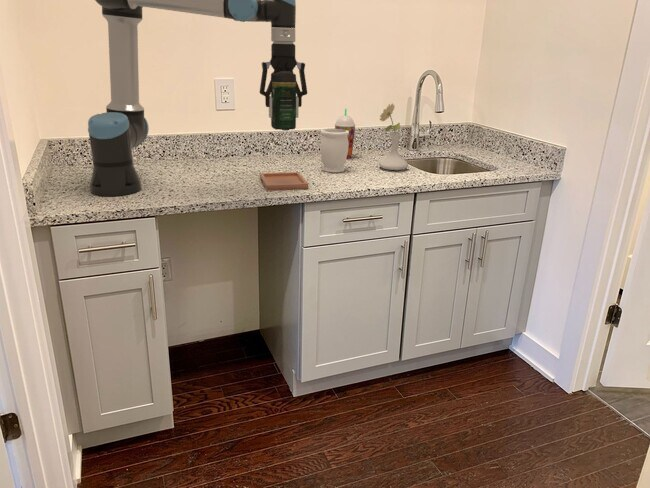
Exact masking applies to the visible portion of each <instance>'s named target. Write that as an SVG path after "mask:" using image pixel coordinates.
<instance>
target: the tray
mask: <svg viewBox="0 0 650 488" xmlns="http://www.w3.org/2000/svg"><path fill="white" fill-rule="evenodd" d="M259 177H260V181H261V183H262V185H263V186H264V188H265V191H267V192H268V191H272V192H273V191H293V189H294V191H295V189H297V190H309V183H308V181H307V180H306V179H305V178H304V176H303V175H302V174H301V173H300V172H299V171H292V172H266V173H264V172H262V173H259Z"/></svg>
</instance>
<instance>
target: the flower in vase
mask: <svg viewBox="0 0 650 488" xmlns="http://www.w3.org/2000/svg"><path fill="white" fill-rule="evenodd" d="M395 106H396V105H395V104H394V103H393V102H392V103H390V104H388V105H387V106H386V108H384V109H383V110H382V111H383V112H382V113H381V114H380V116H379V120H380V122H385V121H386V120H387V119H389V118H390V121H391V124H389V125H387V126H386V127H385V132H386V131H387V132H389V131H391V129H393V131H391V132H389V133H388V134H389V136H390V138H391V139H390V140H391V150H390V152H389V153H388V154H387V155H386V156H385V157H383V158H382V159H381V160H379V162H378V166H379V167H381V168H383V169H384V170H390V171H401V170H404V169H407V168H408V167H409V163H408V162H407V160H406V159H405V158H403V156H401V155H400V154H399V151H398V148H399V141H400V139H401V137H402V135H403V132H400V131H399V132H397V130H400V129H401V125H400V122H398V123H397V124H395V125H394V121H393V119H392V114H393V112H394V110H395V108H396V107H395Z"/></svg>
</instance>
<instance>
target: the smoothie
mask: <svg viewBox="0 0 650 488" xmlns="http://www.w3.org/2000/svg"><path fill="white" fill-rule="evenodd" d="M334 129H343V130H347V131H349V134H348V135H347V137H348V154H347V159H346V160H349V159H351V157H352V155H353V150H354V148H353V147H354V141H355V131H356V130H355V129H356V123H355V122H354V120H353V118H352V117H350V116H348V115H347V108H344V115H341V116H340V117H338V119H337V120H336V123H335V124H334Z"/></svg>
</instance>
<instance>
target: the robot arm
mask: <svg viewBox="0 0 650 488" xmlns="http://www.w3.org/2000/svg"><path fill="white" fill-rule="evenodd" d="M94 1H95V2H96V3H97V4H98V5H100V6H101V14H102V17H103V18H104V19H105V20H106V21H107V27H108V28H107V31H108V33H107V34H108V35H107V37H108V49H109V50H108V55H109V57H108V58H109V61H108V62H109V74H110V75H109V78H110V79H109V80H110V81H109V82H110V102H109V103H108V104H107V105H106V107H105V109H106V112H102V113H97V114H94V115H91V116H90V118H89V119H88V121H87V132H88V137H89V142H90V143H89V144H90V150H91V157H92V158H91V159H92V166H93V169H92V175H91V179H90V183H89V188H90V192H91V193H92V194H93V195H96V196H104V197H117V196H118V197H119V196H126V195H131V194H134V193H138V192H140V191H141V190H142V182H141V179H140V177H139V174H138V173H137V170H136V168H135V166H134V160H133V152H132V149H134V148H137V147H138V146H140V145H142V144H143V142H145V140H146V138H147V137H148V135H149V129H150V128H149V127H150V126H149V123H148V120H147V119H146V117H145V108H144V107H143V106H142V104H141V103H140V90H139V89H140V85H139V83H140V81H139V37H138V36H139V34H138V31H139V29H138V25H139V24H140V23H141V22H142V21H143V8H150V9H157V10H165V11H173V12H179V13H180V12H181V13H186V14H195V15H200V16H201V15H202V16H209V17H217V18H224V19H227V20H228V19H229V20H233V21H235V22H241V23H242V22H243V23H245V22H254V23H256V22H262V23H264V22H265V23H270V26H271V27H270V28H271V29H270V31H271V32H270V35H271V36H270V39H271V42H272V44H271V49H270V51H271V53H270V55H271V57H270V60H269V61H262V62H261V68H262V72H261V73H262V74H261V79H260V87H259V94H260V95H262V96H264V99H265V102H264V103H265V107H266V108H268V117H269V118H270V119H271V118H272V97H271V91H272V79H271V78H270V80H269V84H268V85H267V88H266V83H267V78H268V70H269V68H270V66H271V68H272V69H273V72H272V73H274V72H275V73H277V72H279V71H281V70H287V71H290V72H292V73H294V69H295V67H296V68H297V70H298V72H299V74H298V75H299V79H300V85H301V86H299V84H298V81H297V80H296V119H297V118H299V108H301V107H302V102H303V101H302V99H303V98H302V97H303V96H307V95H308V88H307V81H306V74H305V68H306V63H304V62H299V61H297V59H296V44H295V43H296V16H297V13H296V11H297V10H296V9H297V6H296V5H297V4H296V0H94ZM300 87H301V89H300ZM265 89H266V90H265Z"/></svg>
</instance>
